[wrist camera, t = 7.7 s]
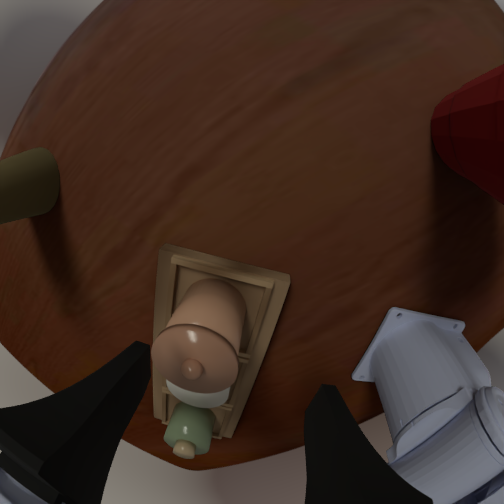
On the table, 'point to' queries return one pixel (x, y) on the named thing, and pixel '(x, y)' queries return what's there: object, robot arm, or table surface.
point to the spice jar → (202, 338)
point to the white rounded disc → (199, 397)
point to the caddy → (254, 329)
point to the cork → (28, 184)
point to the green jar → (190, 430)
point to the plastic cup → (474, 132)
